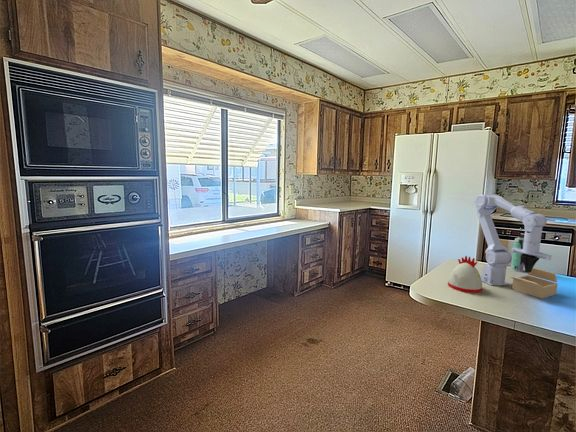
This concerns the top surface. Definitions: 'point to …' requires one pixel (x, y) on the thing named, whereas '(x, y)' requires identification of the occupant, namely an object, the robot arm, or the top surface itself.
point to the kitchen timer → (465, 277)
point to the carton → (535, 287)
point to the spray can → (518, 255)
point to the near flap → (525, 281)
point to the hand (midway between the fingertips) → (528, 271)
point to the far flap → (543, 274)
